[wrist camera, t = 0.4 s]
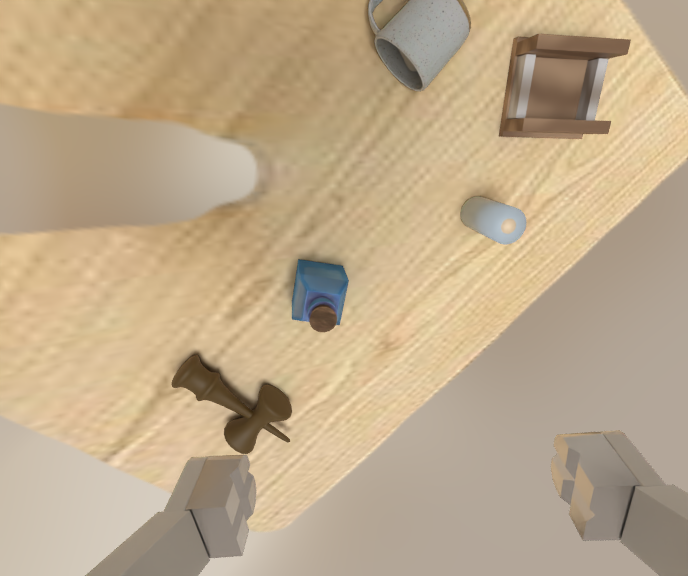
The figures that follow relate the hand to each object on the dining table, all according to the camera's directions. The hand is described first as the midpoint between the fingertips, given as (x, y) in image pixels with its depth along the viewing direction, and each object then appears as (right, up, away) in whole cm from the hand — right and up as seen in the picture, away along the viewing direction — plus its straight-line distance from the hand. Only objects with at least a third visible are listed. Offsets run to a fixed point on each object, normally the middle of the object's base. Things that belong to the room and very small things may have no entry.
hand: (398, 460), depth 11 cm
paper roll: (+17, +15, +45) cm, 50 cm away
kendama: (-17, -12, +51) cm, 55 cm away
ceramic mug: (+6, +34, +37) cm, 50 cm away
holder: (+24, +30, +40) cm, 56 cm away
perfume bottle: (-5, +5, +46) cm, 47 cm away
